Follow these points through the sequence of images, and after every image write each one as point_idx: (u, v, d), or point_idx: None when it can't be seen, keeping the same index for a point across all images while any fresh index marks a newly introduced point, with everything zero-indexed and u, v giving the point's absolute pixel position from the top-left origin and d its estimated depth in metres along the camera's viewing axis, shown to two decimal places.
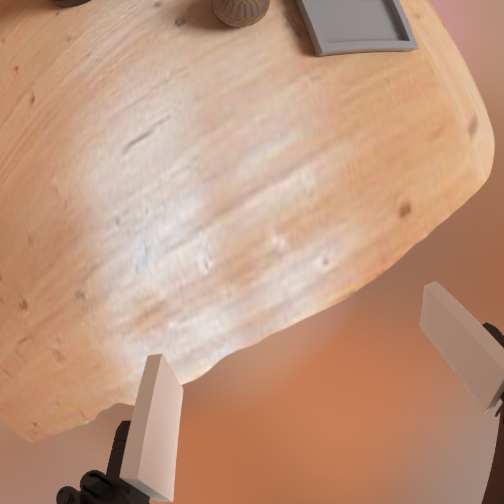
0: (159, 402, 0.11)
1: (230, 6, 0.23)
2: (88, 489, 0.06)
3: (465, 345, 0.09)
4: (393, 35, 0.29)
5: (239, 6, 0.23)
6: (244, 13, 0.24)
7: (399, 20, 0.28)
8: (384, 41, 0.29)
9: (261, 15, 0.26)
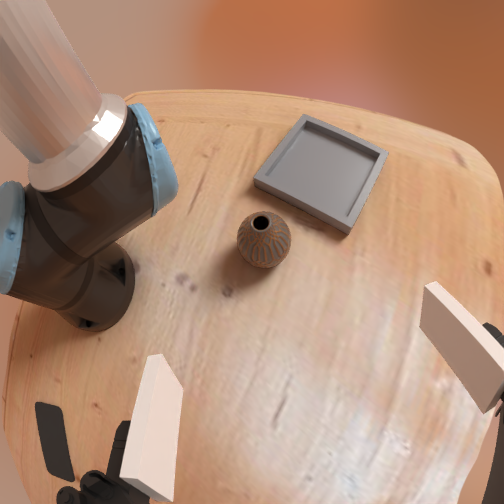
0: (159, 402, 0.11)
1: (267, 251, 0.34)
2: (88, 489, 0.06)
3: (465, 345, 0.09)
4: (367, 161, 0.43)
5: (274, 245, 0.34)
6: (281, 248, 0.35)
7: (359, 145, 0.43)
8: (371, 173, 0.41)
9: (290, 239, 0.37)
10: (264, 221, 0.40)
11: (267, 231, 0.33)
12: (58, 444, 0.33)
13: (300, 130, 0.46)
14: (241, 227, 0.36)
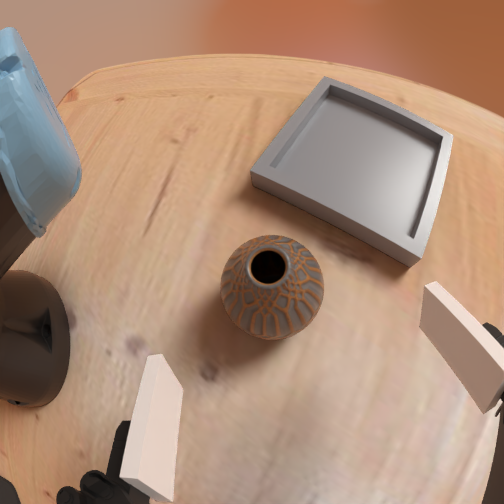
0: (159, 402, 0.11)
1: (281, 321, 0.16)
2: (88, 489, 0.06)
3: (465, 345, 0.09)
4: (425, 148, 0.25)
5: (296, 310, 0.16)
6: (309, 312, 0.17)
7: (411, 123, 0.26)
8: (437, 166, 0.23)
9: None
10: None
11: (283, 285, 0.15)
12: None
13: (322, 98, 0.28)
14: (227, 270, 0.18)
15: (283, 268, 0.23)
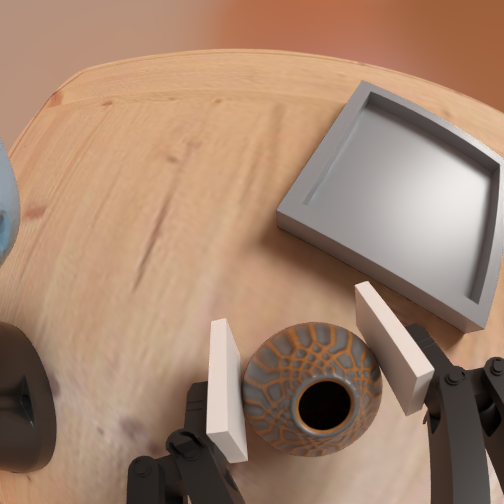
0: (230, 361, 0.12)
1: (330, 451, 0.10)
2: (173, 447, 0.08)
3: (386, 345, 0.11)
4: (481, 178, 0.19)
5: (351, 438, 0.10)
6: (364, 431, 0.10)
7: (466, 146, 0.19)
8: (499, 205, 0.16)
9: None
10: None
11: (345, 429, 0.08)
12: None
13: (361, 109, 0.21)
14: (255, 385, 0.11)
15: None
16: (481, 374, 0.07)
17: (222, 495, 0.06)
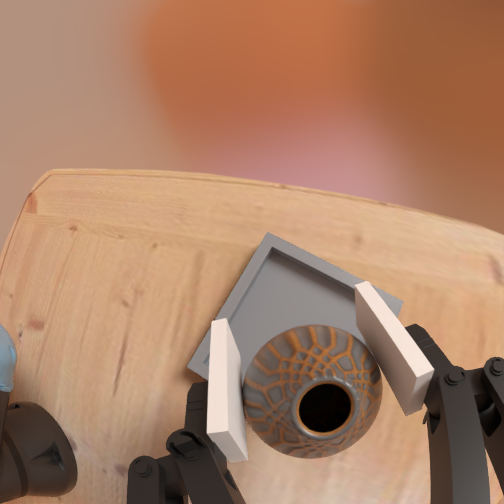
0: (230, 361, 0.12)
1: (330, 452, 0.10)
2: (174, 447, 0.08)
3: (386, 345, 0.11)
4: None
5: (351, 440, 0.10)
6: (364, 433, 0.10)
7: None
8: (370, 351, 0.25)
9: None
10: None
11: (346, 431, 0.08)
12: None
13: (261, 267, 0.30)
14: (255, 388, 0.11)
15: None
16: (481, 374, 0.07)
17: (222, 495, 0.06)
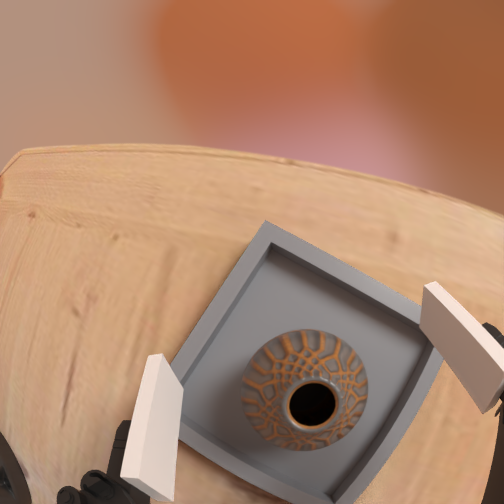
0: (159, 402, 0.11)
1: (319, 446, 0.11)
2: (88, 489, 0.06)
3: (465, 345, 0.09)
4: (406, 350, 0.18)
5: (338, 434, 0.11)
6: (351, 429, 0.12)
7: (394, 313, 0.18)
8: (409, 400, 0.15)
9: None
10: None
11: (331, 425, 0.10)
12: None
13: (254, 272, 0.20)
14: (252, 386, 0.12)
15: None
16: None
17: None
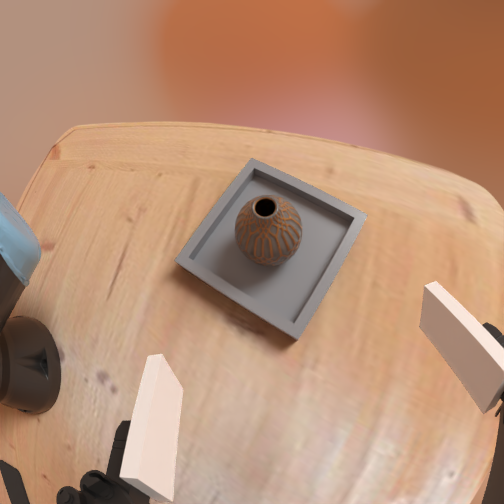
0: (159, 402, 0.11)
1: (273, 244, 0.27)
2: (88, 489, 0.06)
3: (465, 345, 0.09)
4: (336, 229, 0.33)
5: (282, 237, 0.26)
6: (291, 241, 0.27)
7: (325, 205, 0.33)
8: (337, 252, 0.31)
9: (302, 229, 0.29)
10: (269, 208, 0.32)
11: (274, 217, 0.25)
12: (21, 499, 0.23)
13: (244, 183, 0.36)
14: (240, 214, 0.28)
15: None
16: None
17: None
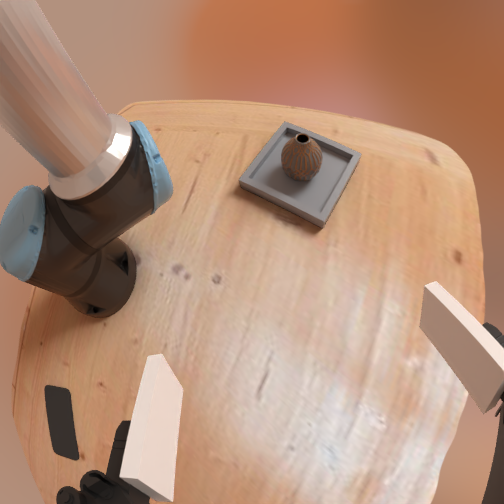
0: (159, 402, 0.11)
1: (307, 160, 0.43)
2: (88, 489, 0.06)
3: (465, 345, 0.09)
4: (342, 163, 0.50)
5: (312, 156, 0.43)
6: (317, 160, 0.44)
7: (334, 148, 0.50)
8: (343, 173, 0.47)
9: (322, 157, 0.46)
10: None
11: (308, 143, 0.41)
12: (65, 424, 0.39)
13: (281, 136, 0.52)
14: (286, 145, 0.44)
15: None
16: None
17: None
